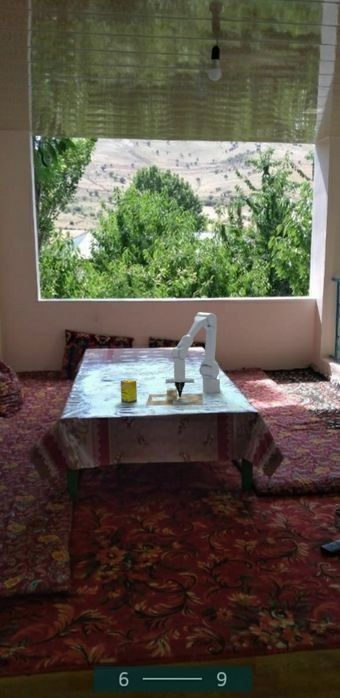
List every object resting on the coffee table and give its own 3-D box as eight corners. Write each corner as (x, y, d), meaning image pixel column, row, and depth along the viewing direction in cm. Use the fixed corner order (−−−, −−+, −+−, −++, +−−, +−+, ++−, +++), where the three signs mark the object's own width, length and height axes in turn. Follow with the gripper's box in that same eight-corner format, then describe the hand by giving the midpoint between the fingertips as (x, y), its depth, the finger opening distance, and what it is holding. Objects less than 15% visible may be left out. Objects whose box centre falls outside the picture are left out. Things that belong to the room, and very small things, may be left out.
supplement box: (120, 401, 271) (120, 380, 269) (129, 399, 275) (129, 378, 274) (128, 403, 267) (127, 382, 265) (137, 401, 271) (136, 380, 269)
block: (177, 397, 271) (176, 387, 270) (176, 399, 266) (176, 390, 265) (167, 397, 271) (167, 387, 270) (166, 399, 266) (166, 390, 265)
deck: (202, 396, 277) (202, 393, 277) (203, 407, 256) (203, 404, 255) (149, 397, 279) (149, 394, 278) (145, 408, 257) (145, 405, 257)
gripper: (164, 372, 262) (165, 398, 265) (193, 372, 262) (194, 398, 264) (165, 369, 269) (166, 395, 272) (193, 369, 269) (194, 395, 271)
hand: (180, 396), depth 268 cm, fingers closed
